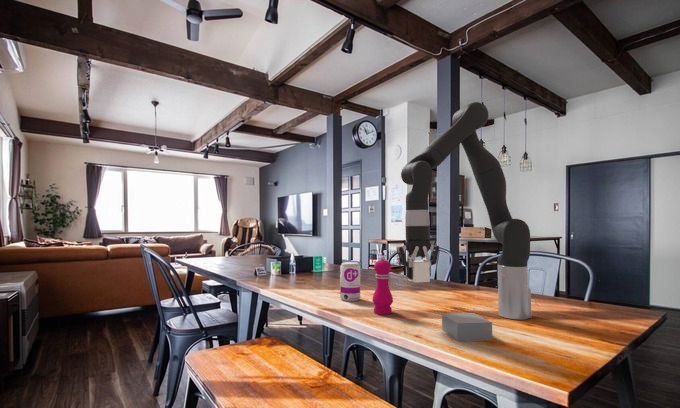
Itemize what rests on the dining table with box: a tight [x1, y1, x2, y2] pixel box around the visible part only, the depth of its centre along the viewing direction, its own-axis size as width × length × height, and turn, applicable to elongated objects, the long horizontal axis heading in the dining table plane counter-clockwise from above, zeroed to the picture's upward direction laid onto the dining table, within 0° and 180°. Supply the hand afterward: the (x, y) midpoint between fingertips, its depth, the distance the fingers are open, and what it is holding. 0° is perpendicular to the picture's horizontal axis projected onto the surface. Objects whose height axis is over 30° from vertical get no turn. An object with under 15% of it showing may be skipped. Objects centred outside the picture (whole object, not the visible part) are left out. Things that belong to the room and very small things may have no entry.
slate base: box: [441, 312, 493, 342], centre depth 98 cm, size 10×10×5 cm
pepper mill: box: [372, 255, 394, 316], centre depth 123 cm, size 7×7×20 cm
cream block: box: [407, 260, 431, 283], centre depth 109 cm, size 5×5×6 cm
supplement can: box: [339, 261, 361, 302], centre depth 144 cm, size 8×8×15 cm
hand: (418, 278), depth 109 cm, fingers closed on cream block, 5 cm apart
